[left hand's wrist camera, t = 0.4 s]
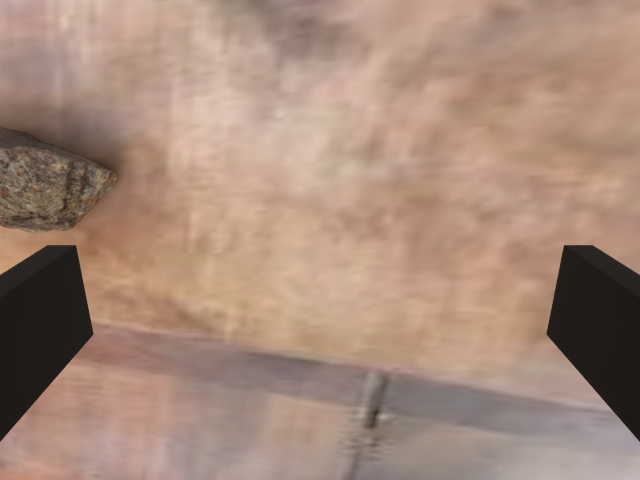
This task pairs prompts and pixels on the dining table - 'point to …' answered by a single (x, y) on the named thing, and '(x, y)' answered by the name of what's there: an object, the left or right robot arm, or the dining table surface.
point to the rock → (46, 184)
